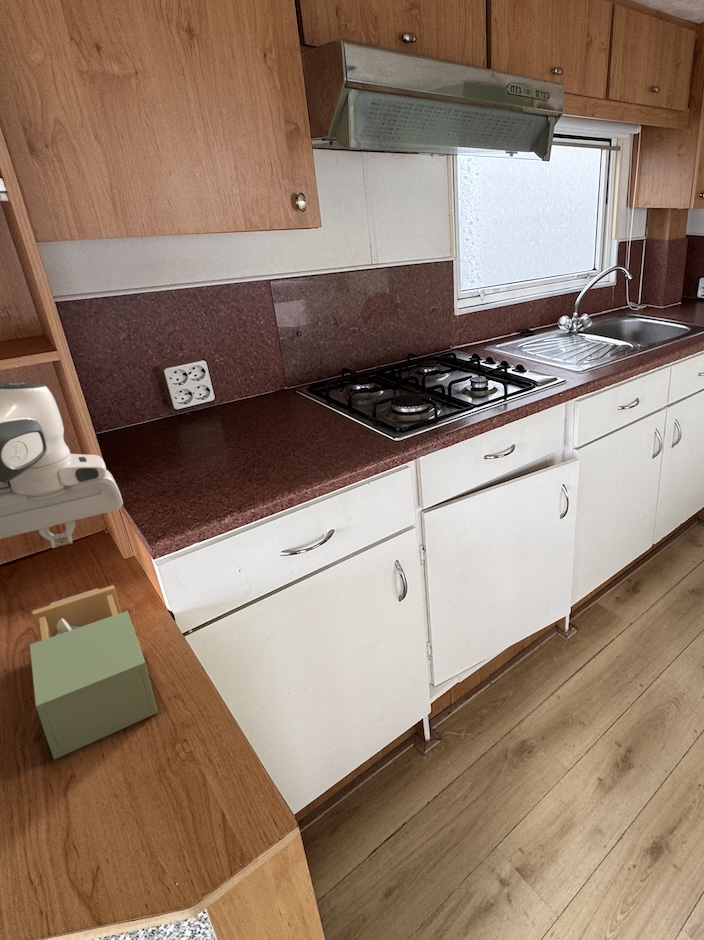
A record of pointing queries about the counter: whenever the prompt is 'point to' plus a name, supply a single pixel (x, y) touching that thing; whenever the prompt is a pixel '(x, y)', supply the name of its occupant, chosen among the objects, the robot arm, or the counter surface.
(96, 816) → the counter surface
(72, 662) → the cabinet
